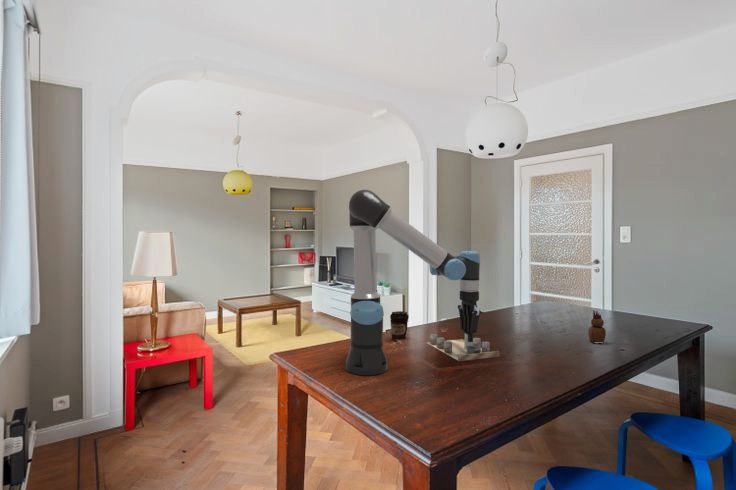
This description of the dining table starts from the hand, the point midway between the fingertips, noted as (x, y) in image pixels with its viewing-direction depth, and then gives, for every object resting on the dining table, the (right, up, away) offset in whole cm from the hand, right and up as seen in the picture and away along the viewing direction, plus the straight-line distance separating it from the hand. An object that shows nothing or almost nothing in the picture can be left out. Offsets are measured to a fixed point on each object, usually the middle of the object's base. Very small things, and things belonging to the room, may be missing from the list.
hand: (468, 349), depth 160 cm
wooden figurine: (+63, -3, +22) cm, 67 cm away
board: (-2, -3, +5) cm, 6 cm away
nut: (+1, -2, -3) cm, 4 cm away
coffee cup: (-26, -2, +22) cm, 34 cm away
